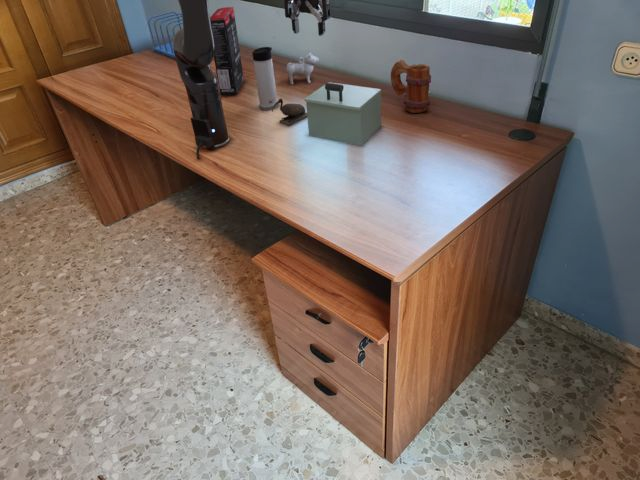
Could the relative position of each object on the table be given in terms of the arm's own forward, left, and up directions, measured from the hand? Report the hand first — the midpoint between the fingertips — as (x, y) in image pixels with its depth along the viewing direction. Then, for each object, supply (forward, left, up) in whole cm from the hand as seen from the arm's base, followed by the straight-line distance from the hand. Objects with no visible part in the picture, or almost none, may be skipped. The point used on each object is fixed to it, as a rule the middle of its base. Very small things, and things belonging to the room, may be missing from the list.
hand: (309, 34), depth 142 cm
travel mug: (+1, +19, -26) cm, 33 cm away
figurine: (-7, +6, -26) cm, 28 cm away
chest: (-6, -15, -26) cm, 31 cm away
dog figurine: (+27, +21, -26) cm, 44 cm away
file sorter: (+42, +99, -26) cm, 111 cm away
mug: (+17, -27, -26) cm, 41 cm away
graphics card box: (+11, +43, -26) cm, 52 cm away
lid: (-7, -15, -15) cm, 22 cm away
